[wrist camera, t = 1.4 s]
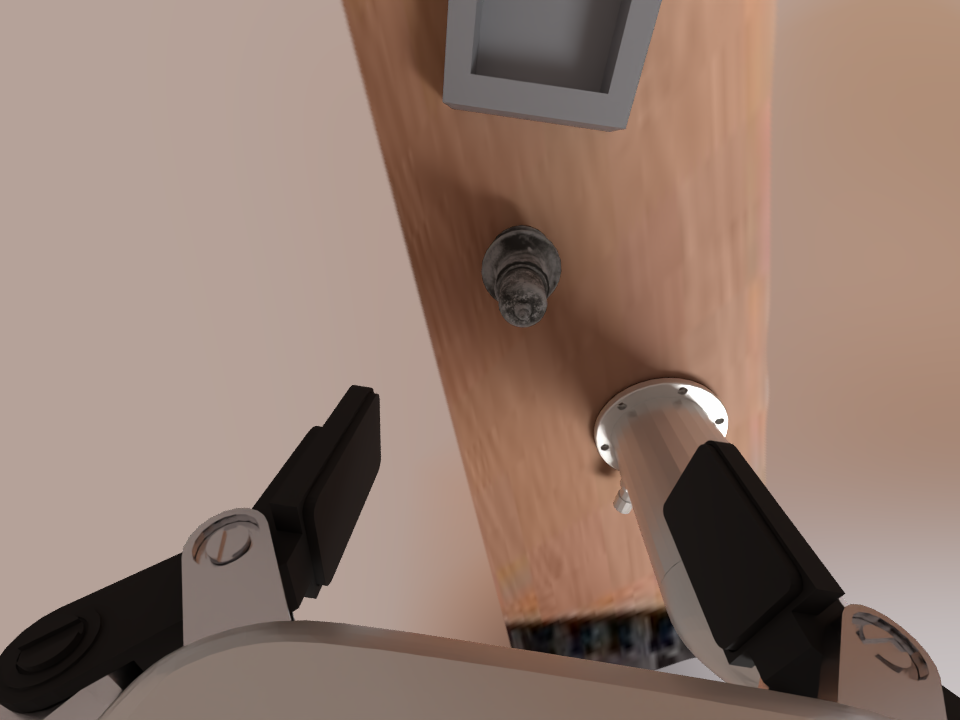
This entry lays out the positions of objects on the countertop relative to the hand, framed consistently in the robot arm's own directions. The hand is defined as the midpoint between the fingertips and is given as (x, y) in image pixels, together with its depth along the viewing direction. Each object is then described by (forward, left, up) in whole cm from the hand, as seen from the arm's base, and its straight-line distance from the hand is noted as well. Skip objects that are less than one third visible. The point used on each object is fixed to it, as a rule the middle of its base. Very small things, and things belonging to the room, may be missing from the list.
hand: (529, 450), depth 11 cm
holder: (+15, +1, -22) cm, 27 cm away
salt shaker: (0, 0, -22) cm, 22 cm away
